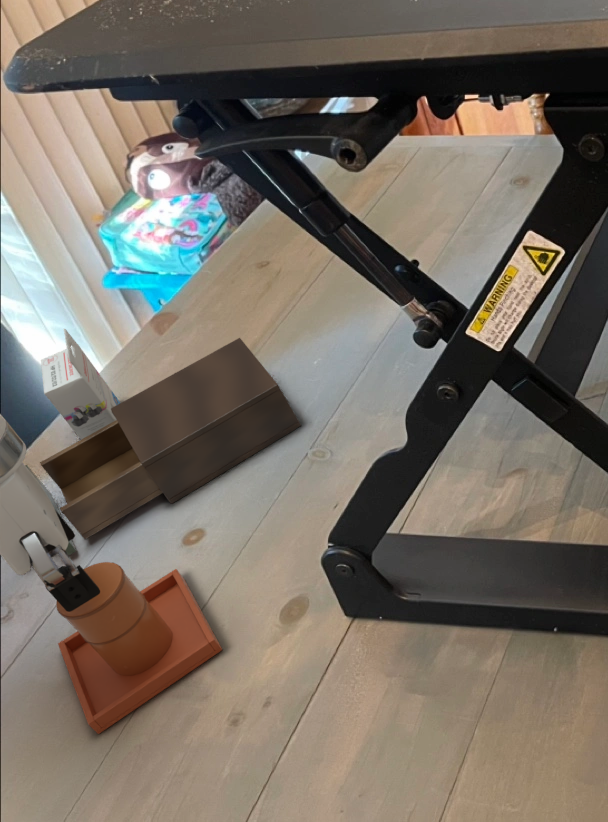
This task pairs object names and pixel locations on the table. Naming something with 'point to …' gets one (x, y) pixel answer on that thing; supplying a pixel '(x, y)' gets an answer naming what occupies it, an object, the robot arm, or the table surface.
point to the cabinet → (205, 419)
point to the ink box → (78, 389)
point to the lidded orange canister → (120, 622)
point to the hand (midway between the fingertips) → (71, 571)
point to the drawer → (99, 480)
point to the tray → (120, 695)
